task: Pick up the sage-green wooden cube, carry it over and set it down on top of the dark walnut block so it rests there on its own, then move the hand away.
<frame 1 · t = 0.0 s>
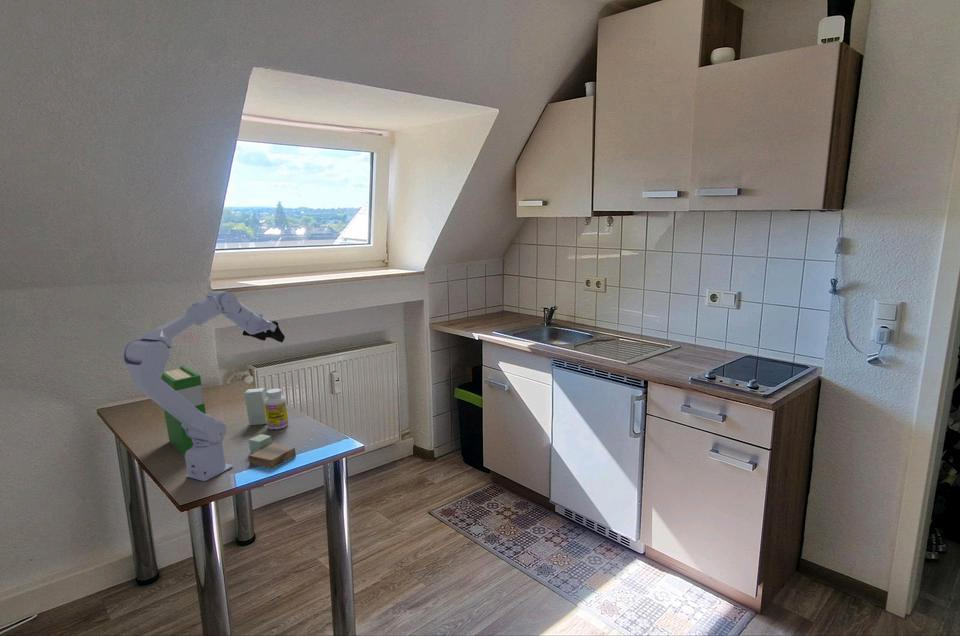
hand: (274, 338, 175), 32 cm above the table, tool tilted 50°, fingers open, 7 cm apart
sage cube: (261, 451, 168), on the table
supplement bottle: (278, 427, 188), on the table
walnut block: (273, 460, 162), on the table
skincare box: (259, 423, 192), on the table
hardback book: (189, 445, 176), on the table
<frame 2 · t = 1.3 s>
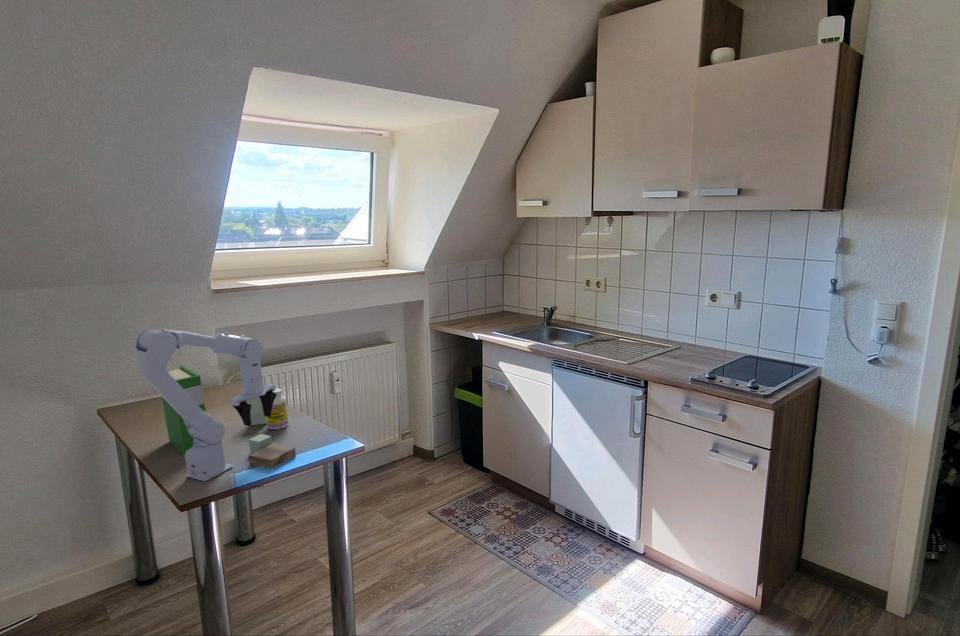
hand: (257, 420, 167), 10 cm above the table, tool pointing down, fingers open, 7 cm apart
nothing on the table moved.
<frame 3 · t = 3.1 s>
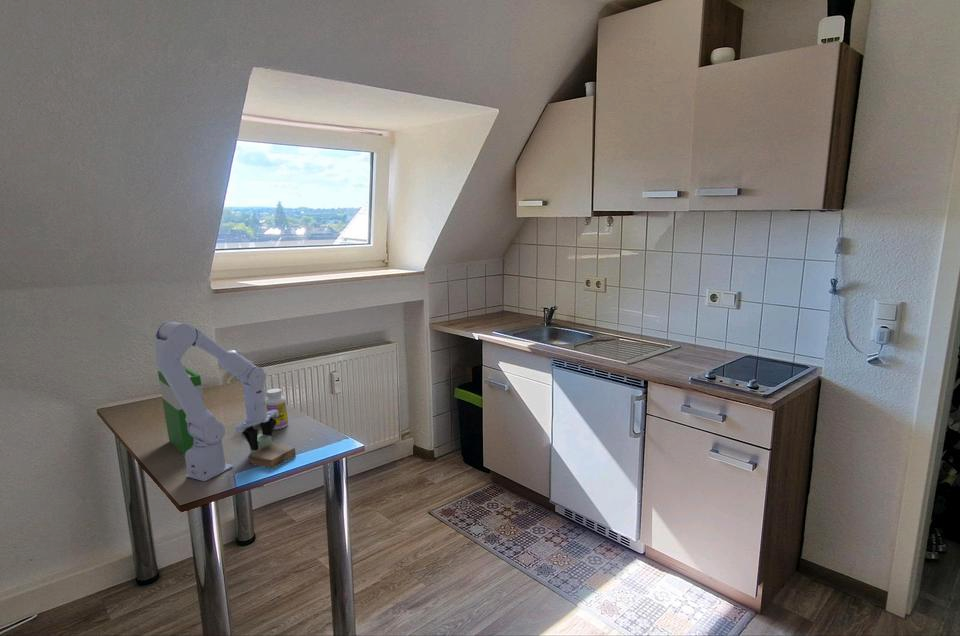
hand: (261, 446, 168), 2 cm above the table, tool pointing down, fingers closed on sage cube, 4 cm apart
sage cube: (261, 451, 168), on the table, touching gripper
everything else where it was.
when the fingers open (5 cm above the table, at t = 7.8 s): sage cube drops 1 cm, resting on walnut block.
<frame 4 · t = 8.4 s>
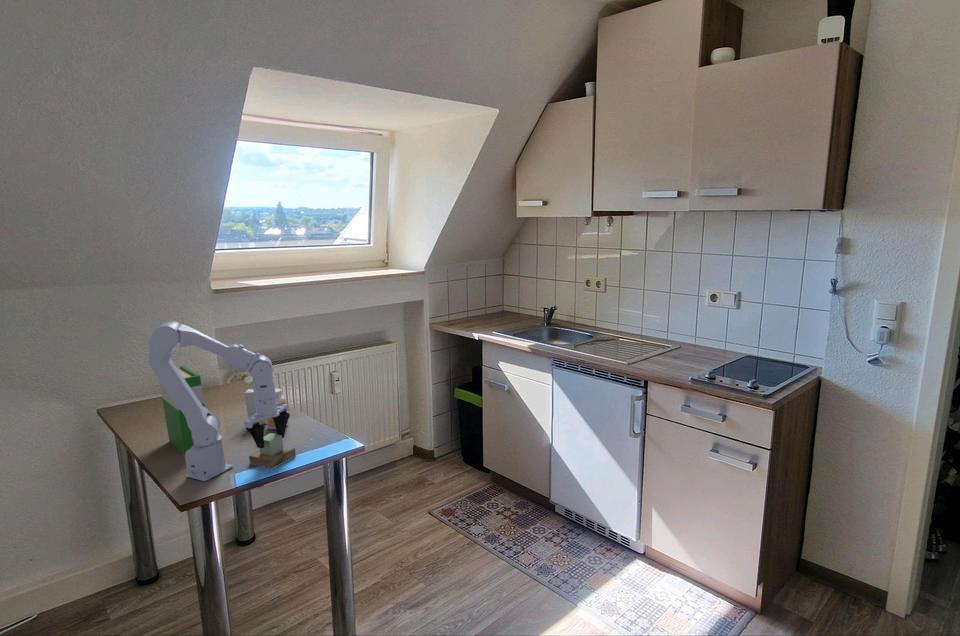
hand: (270, 442, 161), 5 cm above the table, tool pointing down, fingers open, 7 cm apart
sage cube: (271, 451, 162), point 2 cm above the table, touching walnut block
walnut block: (273, 461, 162), on the table, touching sage cube
everything else where it was.
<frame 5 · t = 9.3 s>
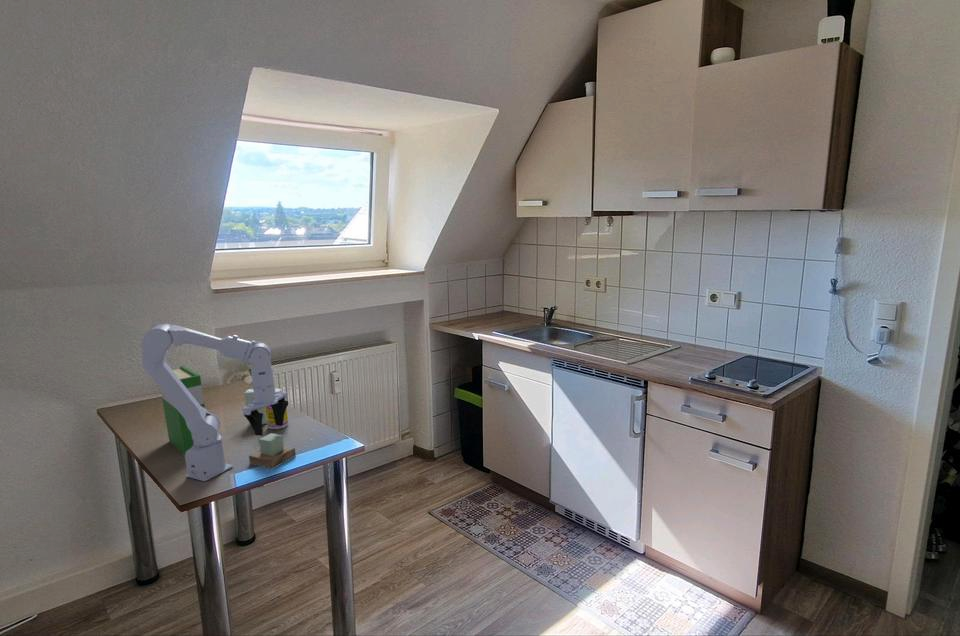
hand: (269, 429, 160), 9 cm above the table, tool pointing down, fingers open, 7 cm apart
nothing on the table moved.
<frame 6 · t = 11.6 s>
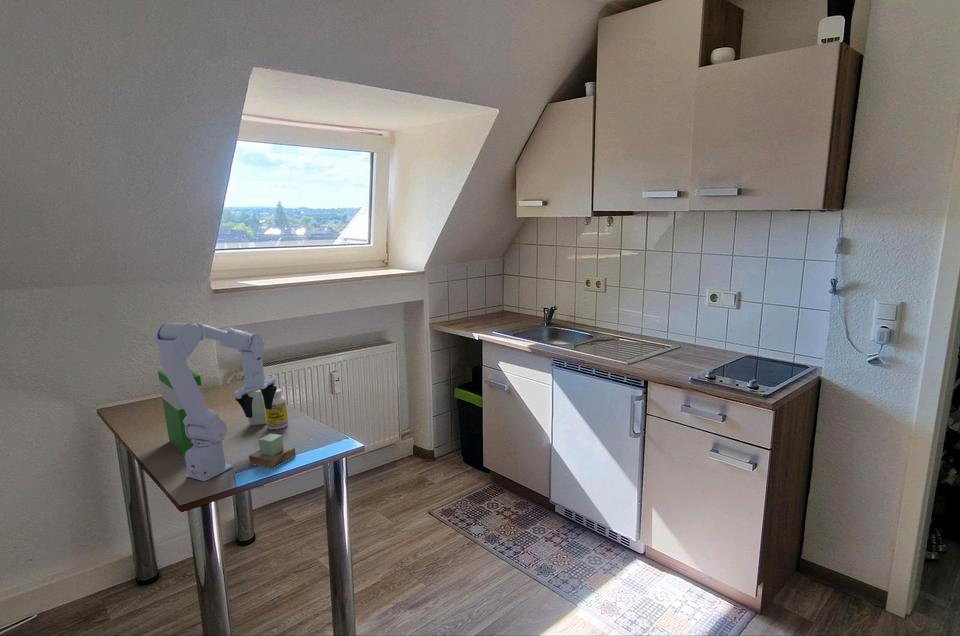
hand: (259, 413, 173), 10 cm above the table, tool pointing down, fingers open, 7 cm apart
nothing on the table moved.
at the end: sage cube 0.1 cm off-centre on the walnut block, point 3.0 cm above the walnut block's base; sage cube tilted 1°; the gripper is holding nothing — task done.
